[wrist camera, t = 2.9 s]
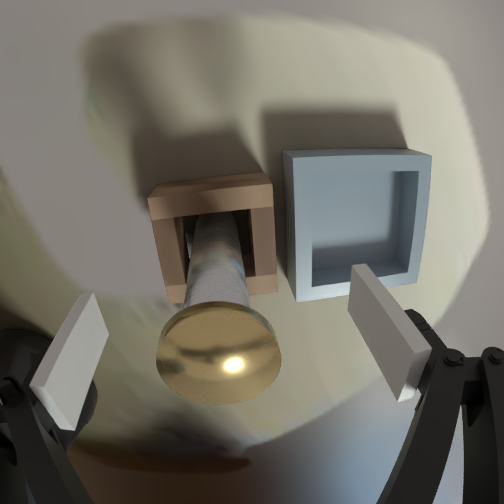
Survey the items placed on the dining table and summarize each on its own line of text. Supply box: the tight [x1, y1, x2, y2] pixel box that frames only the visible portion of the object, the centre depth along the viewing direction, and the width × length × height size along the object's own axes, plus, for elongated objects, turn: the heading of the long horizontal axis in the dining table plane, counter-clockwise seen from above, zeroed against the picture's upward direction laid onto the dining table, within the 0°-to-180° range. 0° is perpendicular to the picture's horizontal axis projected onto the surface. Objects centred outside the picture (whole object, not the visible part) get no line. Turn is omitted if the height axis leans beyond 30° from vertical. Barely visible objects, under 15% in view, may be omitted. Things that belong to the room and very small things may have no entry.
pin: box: [156, 211, 281, 405], centre depth 19 cm, size 5×5×15 cm
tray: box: [282, 148, 432, 302], centre depth 24 cm, size 11×11×4 cm
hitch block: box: [147, 172, 278, 304], centre depth 23 cm, size 8×8×4 cm
